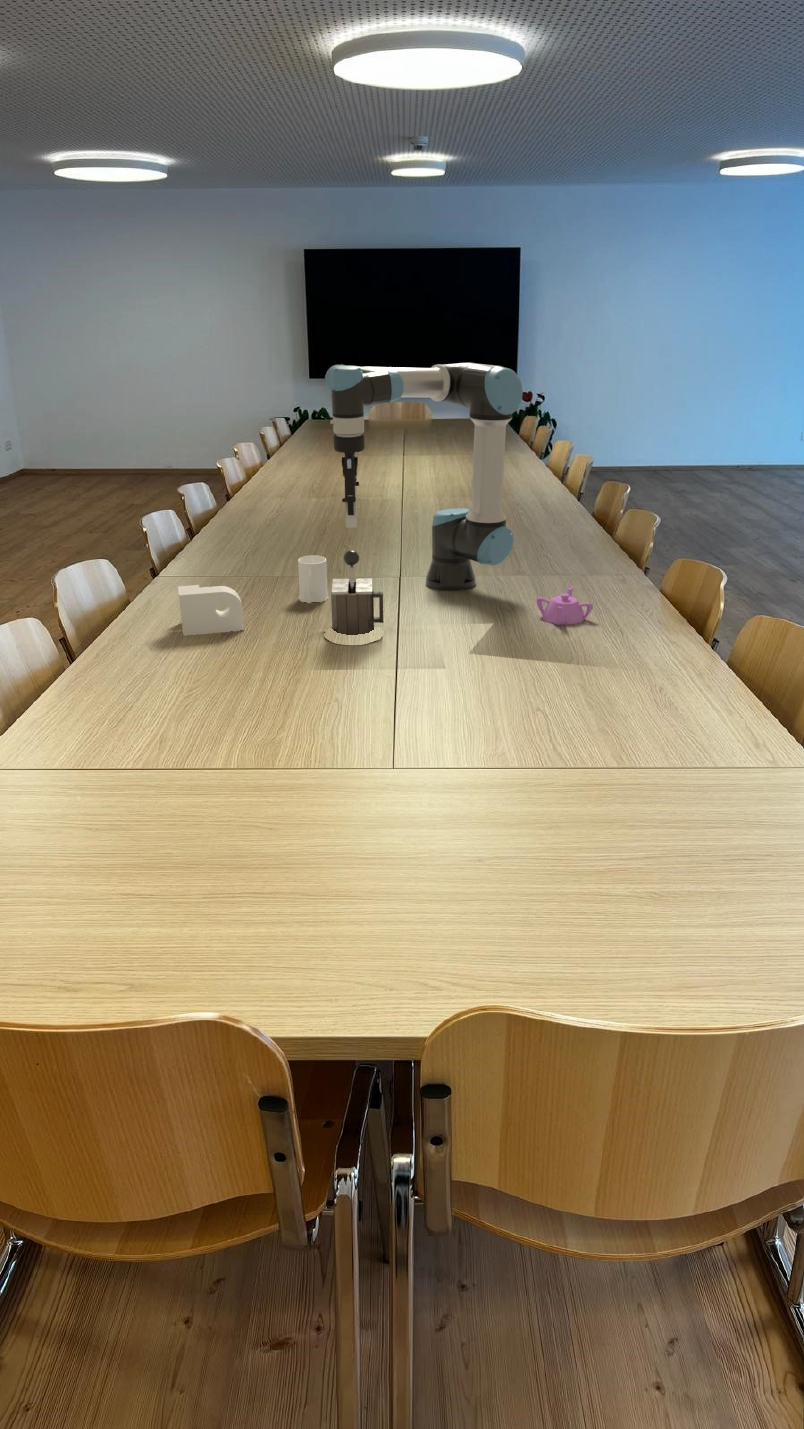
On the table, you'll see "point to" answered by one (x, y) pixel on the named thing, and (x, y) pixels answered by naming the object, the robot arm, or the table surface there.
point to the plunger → (351, 565)
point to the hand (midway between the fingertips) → (351, 519)
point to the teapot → (563, 609)
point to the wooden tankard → (354, 606)
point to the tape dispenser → (209, 610)
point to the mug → (312, 579)
